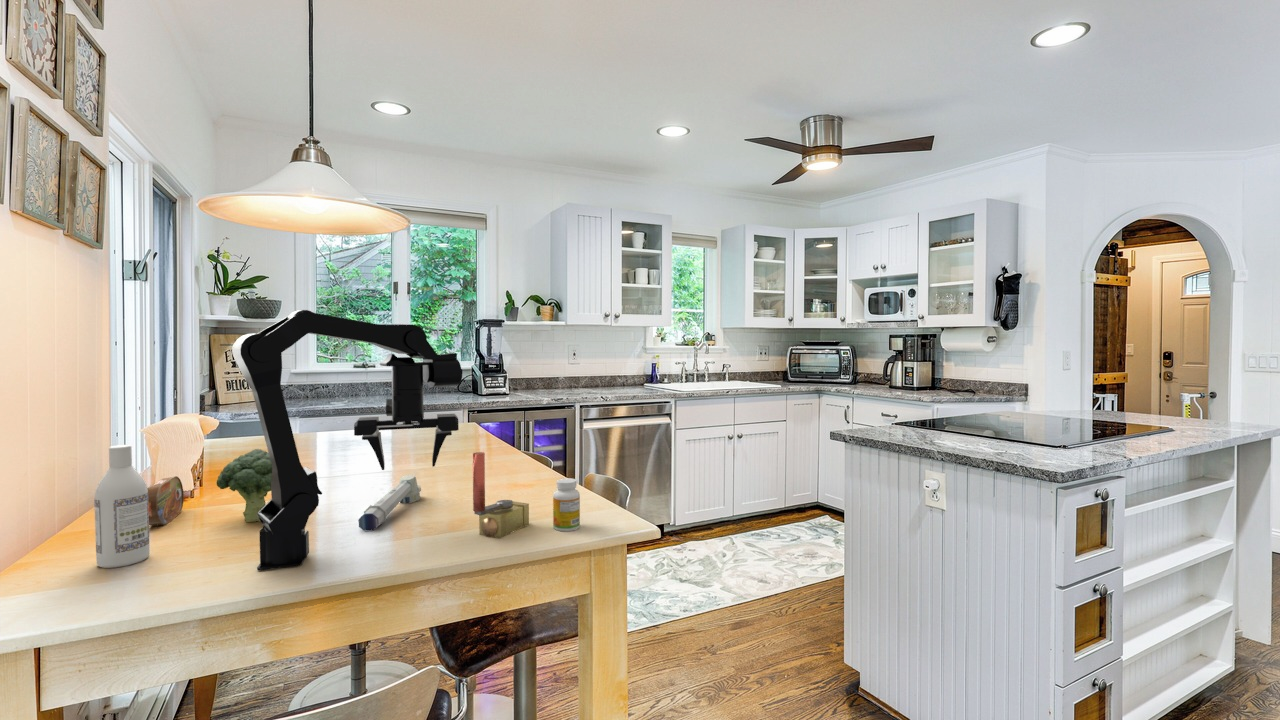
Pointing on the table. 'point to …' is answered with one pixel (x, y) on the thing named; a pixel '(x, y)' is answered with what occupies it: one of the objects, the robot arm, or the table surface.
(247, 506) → the vegetable
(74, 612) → the table surface
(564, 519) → the supplement bottle
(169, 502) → the tin
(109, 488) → the bath foam
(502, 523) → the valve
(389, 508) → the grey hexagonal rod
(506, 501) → the lever
